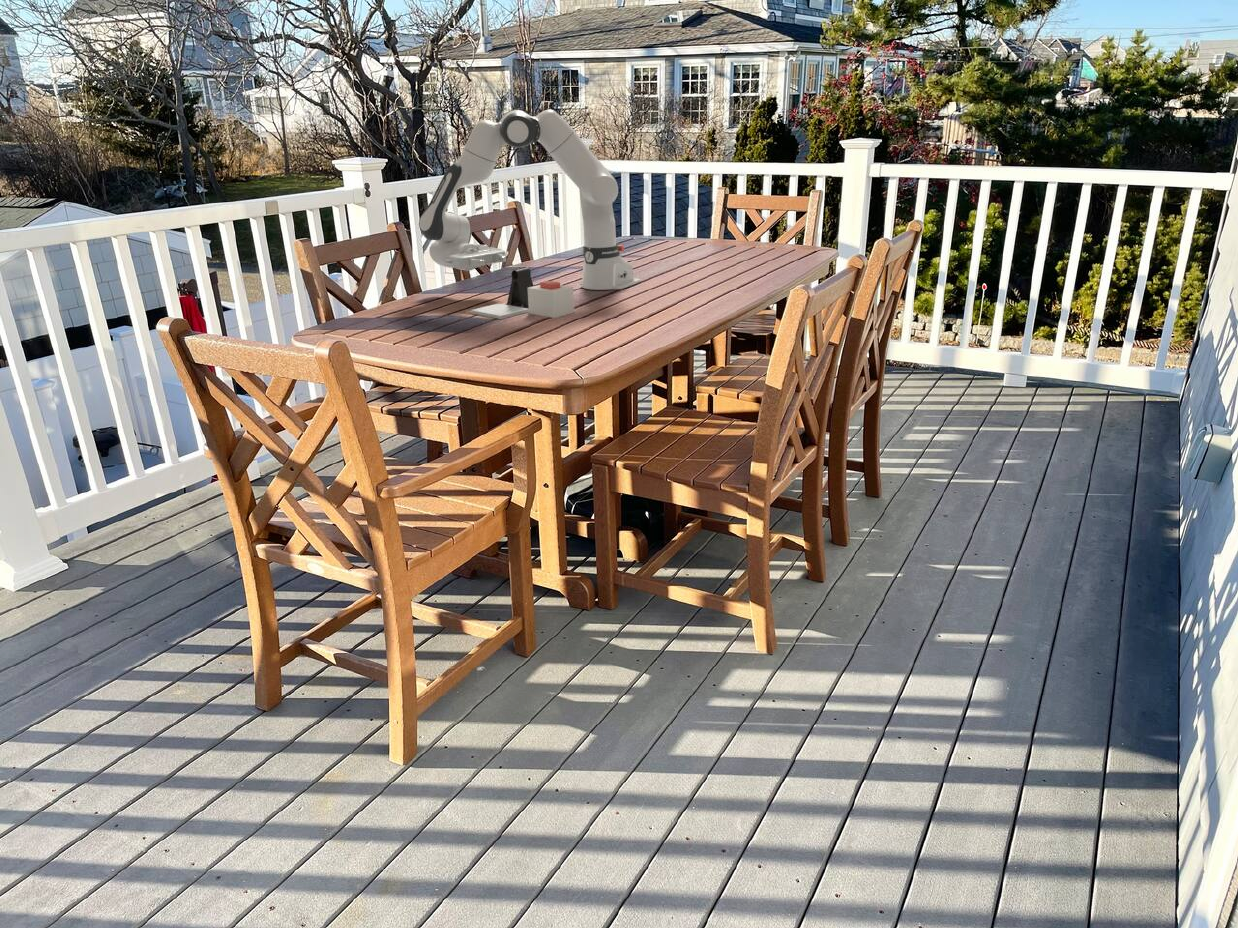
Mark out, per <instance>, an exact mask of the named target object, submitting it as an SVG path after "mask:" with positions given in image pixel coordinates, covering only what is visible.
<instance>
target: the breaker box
mask: <svg viewBox="0 0 1238 928" xmlns="http://www.w3.org/2000/svg"><path fill="white" fill-rule="evenodd" d="M527 289H528V305H529V312H528V314H531V315H536V316H541V317H546V318H553V319H555V318H559V317H562V316H567V315H570V314H573V313H575V301H574V298H575V297H574V296H575V295H574V287H573V286H568V285H562V284H560V288H557V289H553V290H551V289H545V288H540V284H538V285H534V286H533V287H529V288H527Z"/></svg>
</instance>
